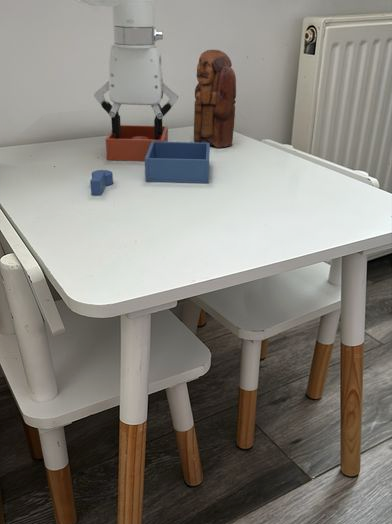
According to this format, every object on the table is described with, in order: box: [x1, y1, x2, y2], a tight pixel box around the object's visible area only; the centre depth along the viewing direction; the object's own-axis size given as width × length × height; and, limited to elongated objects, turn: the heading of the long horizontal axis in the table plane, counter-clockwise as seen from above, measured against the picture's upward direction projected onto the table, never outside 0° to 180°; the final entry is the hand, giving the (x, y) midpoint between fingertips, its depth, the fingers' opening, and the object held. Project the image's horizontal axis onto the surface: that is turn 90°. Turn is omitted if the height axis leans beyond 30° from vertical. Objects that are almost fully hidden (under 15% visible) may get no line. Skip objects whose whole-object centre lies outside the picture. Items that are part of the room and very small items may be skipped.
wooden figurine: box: [193, 49, 237, 149], centre depth 118 cm, size 12×6×18 cm, turn 38°
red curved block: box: [131, 136, 149, 139], centre depth 114 cm, size 8×4×2 cm, turn 178°
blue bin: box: [144, 141, 211, 184], centre depth 103 cm, size 11×12×4 cm
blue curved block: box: [89, 169, 114, 196], centre depth 95 cm, size 8×4×2 cm, turn 178°
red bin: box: [105, 124, 169, 162], centre depth 114 cm, size 11×12×4 cm
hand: (137, 137), depth 112 cm, fingers open, 7 cm apart
